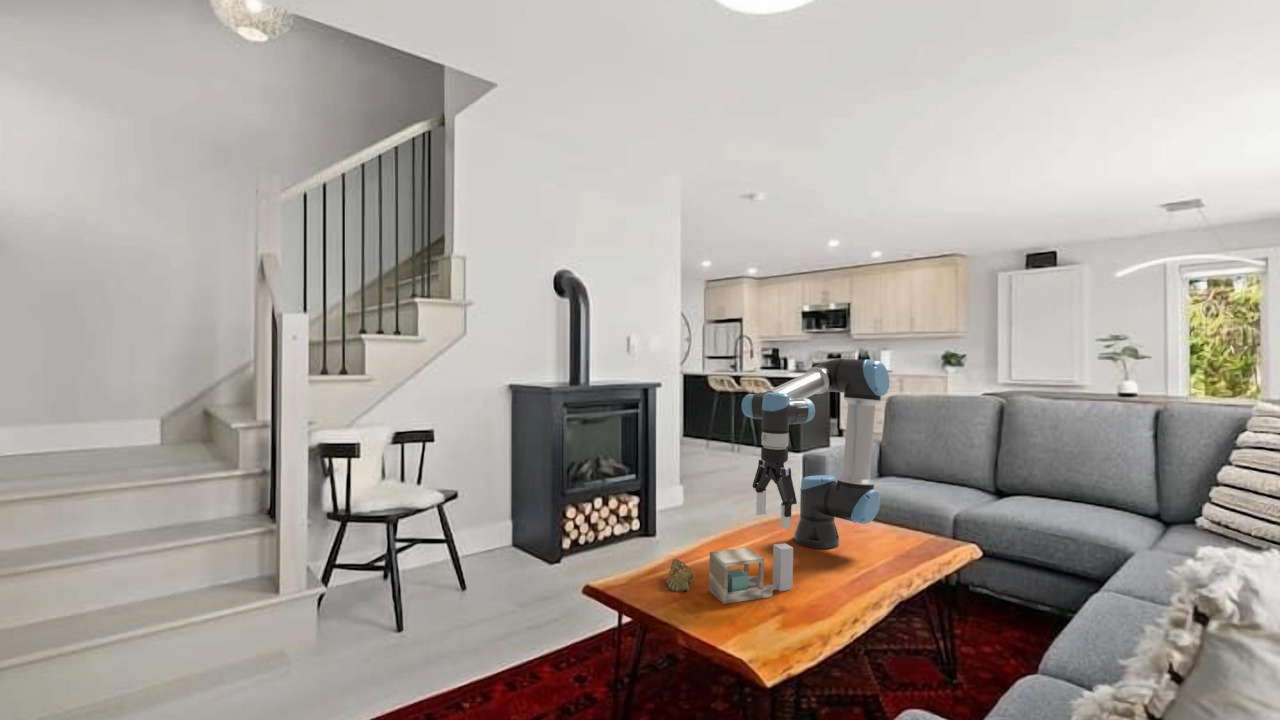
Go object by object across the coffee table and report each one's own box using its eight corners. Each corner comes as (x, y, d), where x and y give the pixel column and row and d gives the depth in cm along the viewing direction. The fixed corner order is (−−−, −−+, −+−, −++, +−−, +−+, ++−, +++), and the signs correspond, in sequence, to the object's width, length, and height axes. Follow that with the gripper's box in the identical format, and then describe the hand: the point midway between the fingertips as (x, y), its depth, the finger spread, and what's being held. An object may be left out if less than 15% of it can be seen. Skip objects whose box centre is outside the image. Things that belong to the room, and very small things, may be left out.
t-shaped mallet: (783, 583, 178) (784, 542, 177) (793, 590, 173) (794, 548, 173) (723, 591, 171) (724, 549, 171) (731, 599, 166) (732, 555, 166)
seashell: (660, 594, 176) (658, 558, 181) (685, 595, 179) (683, 560, 184) (674, 590, 169) (672, 553, 174) (700, 591, 172) (698, 554, 176)
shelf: (755, 584, 177) (756, 546, 177) (772, 596, 168) (773, 557, 168) (708, 590, 172) (709, 551, 171) (723, 603, 163) (724, 563, 163)
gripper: (742, 440, 186) (740, 509, 186) (786, 455, 162) (784, 535, 163) (764, 439, 188) (762, 508, 189) (811, 454, 164) (809, 532, 165)
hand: (772, 520), depth 176 cm, fingers open, 13 cm apart
